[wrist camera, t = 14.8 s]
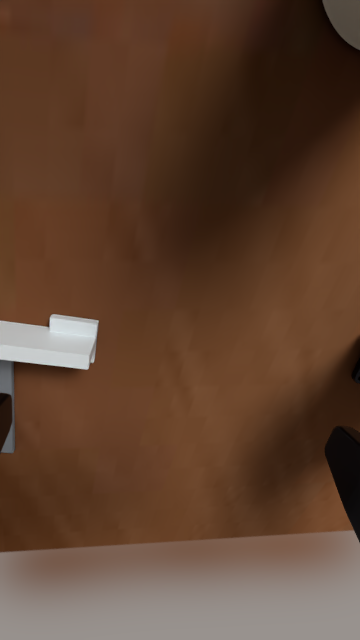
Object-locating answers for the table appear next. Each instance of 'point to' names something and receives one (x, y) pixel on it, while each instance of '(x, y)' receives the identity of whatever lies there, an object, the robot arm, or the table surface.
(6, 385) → the slate mat
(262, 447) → the table surface
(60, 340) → the light grey long bar
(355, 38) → the travel mug
